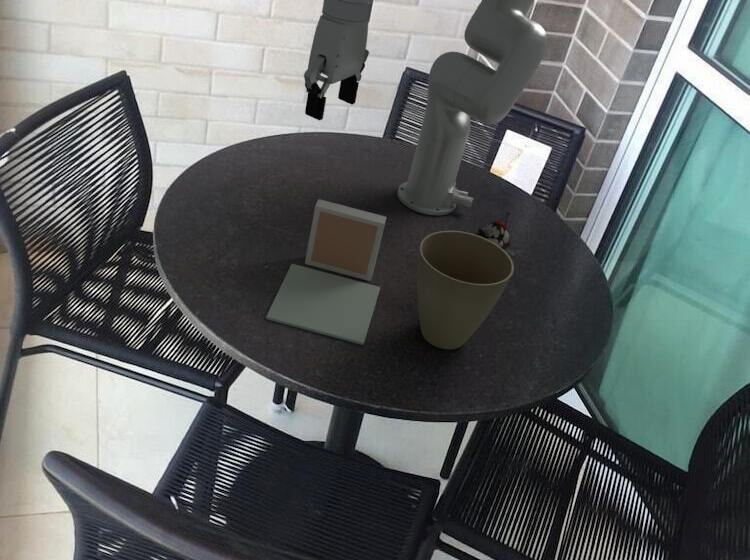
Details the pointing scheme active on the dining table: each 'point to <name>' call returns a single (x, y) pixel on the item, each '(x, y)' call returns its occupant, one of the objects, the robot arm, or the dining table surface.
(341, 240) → the tile
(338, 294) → the mat
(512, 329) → the dining table surface
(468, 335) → the plant pot
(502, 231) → the sundae
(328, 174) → the dining table surface
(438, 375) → the dining table surface
